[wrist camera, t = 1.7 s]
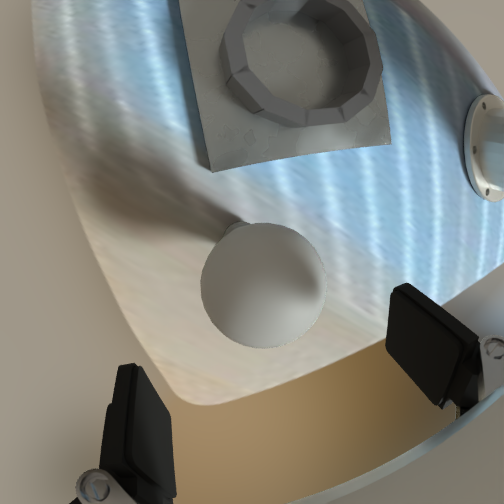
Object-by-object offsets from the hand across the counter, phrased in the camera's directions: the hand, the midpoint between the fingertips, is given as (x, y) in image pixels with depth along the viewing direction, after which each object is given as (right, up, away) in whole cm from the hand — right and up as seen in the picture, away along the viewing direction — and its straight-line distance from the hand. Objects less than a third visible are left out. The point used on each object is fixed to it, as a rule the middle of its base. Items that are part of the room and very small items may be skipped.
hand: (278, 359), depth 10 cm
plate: (+2, +17, +8) cm, 19 cm away
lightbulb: (-2, +5, +12) cm, 13 cm away
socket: (+2, +17, +8) cm, 19 cm away
